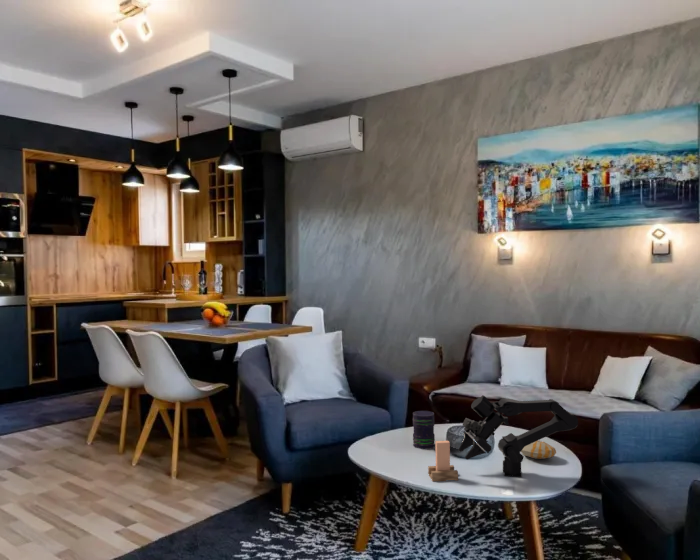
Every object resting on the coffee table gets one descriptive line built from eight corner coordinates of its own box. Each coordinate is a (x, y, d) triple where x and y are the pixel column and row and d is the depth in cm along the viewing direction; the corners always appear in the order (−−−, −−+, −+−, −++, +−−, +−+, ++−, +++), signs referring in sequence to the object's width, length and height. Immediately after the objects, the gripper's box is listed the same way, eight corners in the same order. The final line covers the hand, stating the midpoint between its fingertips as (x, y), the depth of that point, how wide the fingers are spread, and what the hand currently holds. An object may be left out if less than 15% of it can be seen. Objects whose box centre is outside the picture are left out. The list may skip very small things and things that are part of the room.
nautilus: (512, 448, 256) (546, 451, 254) (521, 462, 235) (559, 464, 233) (512, 431, 256) (546, 433, 255) (522, 442, 235) (559, 445, 233)
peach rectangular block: (448, 473, 223) (448, 440, 223) (450, 475, 220) (449, 442, 220) (435, 474, 222) (435, 441, 222) (437, 476, 220) (436, 443, 220)
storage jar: (432, 442, 266) (431, 410, 265) (437, 448, 256) (436, 415, 256) (411, 442, 265) (410, 411, 265) (415, 449, 255) (414, 416, 255)
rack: (452, 472, 226) (452, 464, 226) (458, 480, 218) (458, 472, 218) (428, 473, 225) (428, 465, 225) (432, 481, 217) (432, 473, 217)
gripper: (468, 405, 231) (442, 433, 231) (482, 417, 212) (454, 448, 212) (487, 424, 232) (461, 452, 231) (503, 437, 213) (475, 468, 213)
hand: (462, 454), depth 222 cm, fingers open, 9 cm apart
